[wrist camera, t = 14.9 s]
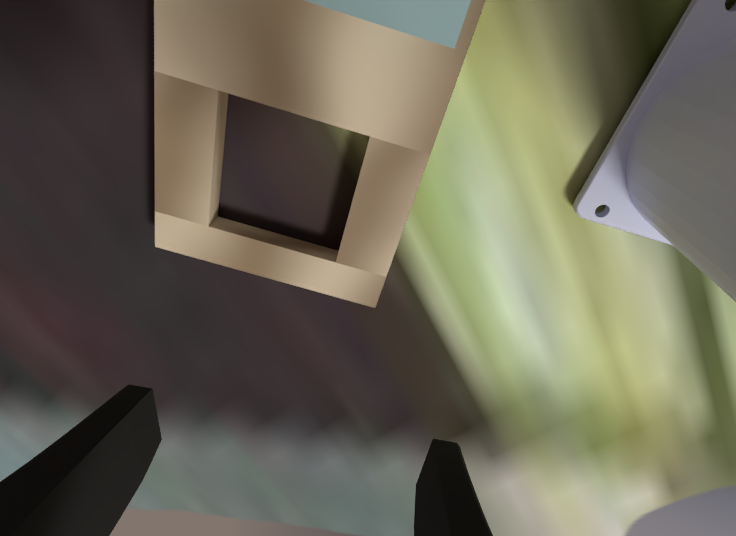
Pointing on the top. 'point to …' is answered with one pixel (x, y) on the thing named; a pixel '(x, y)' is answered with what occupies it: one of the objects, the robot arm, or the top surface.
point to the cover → (409, 16)
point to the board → (303, 97)
